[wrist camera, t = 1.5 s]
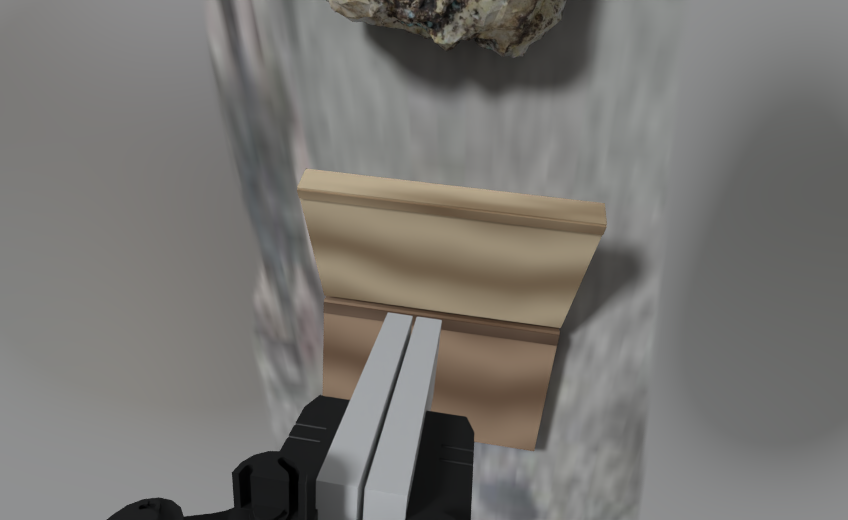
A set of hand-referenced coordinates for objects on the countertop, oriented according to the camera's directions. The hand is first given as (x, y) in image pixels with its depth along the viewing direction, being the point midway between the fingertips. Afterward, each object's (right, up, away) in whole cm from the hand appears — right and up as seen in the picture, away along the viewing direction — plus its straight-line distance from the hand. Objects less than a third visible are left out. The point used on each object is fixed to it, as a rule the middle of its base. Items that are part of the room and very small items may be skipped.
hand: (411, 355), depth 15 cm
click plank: (+2, +4, +15) cm, 16 cm away
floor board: (+1, -5, +22) cm, 22 cm away
